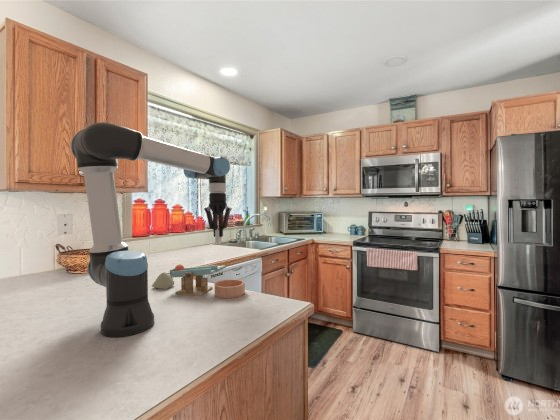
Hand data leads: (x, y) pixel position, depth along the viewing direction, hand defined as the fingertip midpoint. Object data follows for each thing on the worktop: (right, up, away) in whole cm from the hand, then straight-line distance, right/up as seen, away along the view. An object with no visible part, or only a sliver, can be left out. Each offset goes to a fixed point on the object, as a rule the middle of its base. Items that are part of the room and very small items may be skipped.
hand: (218, 243), depth 134 cm
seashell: (-27, -21, +4) cm, 34 cm away
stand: (-10, -21, -4) cm, 23 cm away
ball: (-16, -13, -3) cm, 21 cm away
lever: (-9, -13, -1) cm, 16 cm away
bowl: (+7, -21, -9) cm, 23 cm away
